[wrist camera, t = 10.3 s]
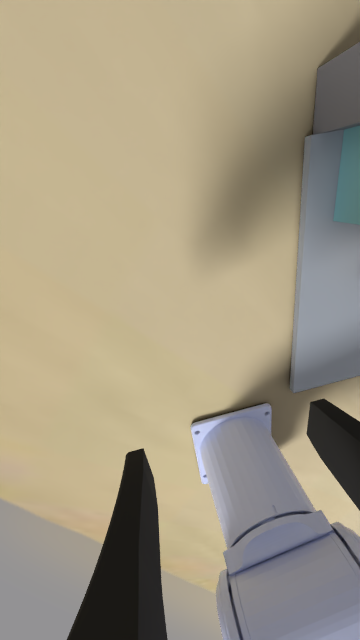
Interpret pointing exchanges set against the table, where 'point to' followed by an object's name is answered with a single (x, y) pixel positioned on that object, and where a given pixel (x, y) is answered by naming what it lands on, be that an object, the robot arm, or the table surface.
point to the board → (325, 275)
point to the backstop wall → (338, 93)
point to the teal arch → (349, 179)
